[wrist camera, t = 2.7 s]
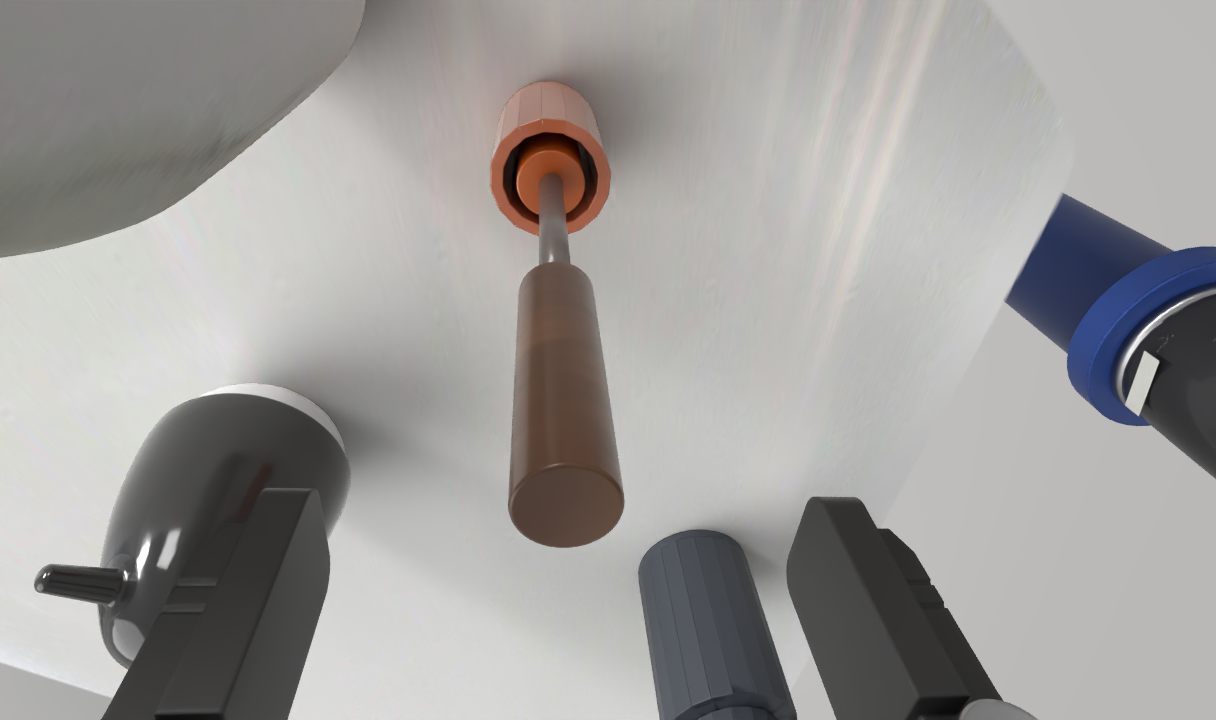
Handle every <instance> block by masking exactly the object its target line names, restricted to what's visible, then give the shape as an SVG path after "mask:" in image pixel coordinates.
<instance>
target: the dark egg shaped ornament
mask: <svg viewBox="0 0 1216 720" xmlns="http://www.w3.org/2000/svg"><path fill="white" fill-rule="evenodd" d="M350 484H351V474H350V467H349V463H348V460H347V457H346V452H345V448H344V444H343V441H342V438H341V436H340V433H339V431H338V430H337V428H336V426H335V424H334V423H333V422H332V420H331V419H330V418H329V416H328V415H327V414H326V413H325V412H324V411H323V410H322V409H321V408H320V407H318V406H317V405H316V404H315V403H313V402H312V401H311V400H309V399H307V398H306V397H304V396H302V395H300V394H298V393H296V392H294V391H291V390H289V389H286V388H283V387H279V386H274V385H269V384H260V383H243V384H235V385H229V386H225V387H221V388H218V389H215V390H212V391H210V392H207V393H205V394H203V395H201V396H199V397H197V398H195V399H192V400H189V401H187V402H184V403H182V404H180V405H178V406H177V407H175V408H173V409H172V410H170V411H169V412H168V413H167V414H166V415H164V416H163V417H162V418H161V419H160V420H159V422H158V423H157V424H156V425H155V426H154V428H153V429H152V430H151V432H150V433H149V435H148V436H147V438H146V439H145V441H144V442H143V444H142V446H141V448H140V449H139V451H138V453H137V455H136V457H135V459H134V461H133V463H132V465H131V467H130V469H129V471H128V473H127V475H126V477H125V480H124V482H123V484H122V487H121V489H120V491H119V494H118V496H117V499H116V502H115V505H114V508H113V511H112V514H111V517H110V521H109V525H108V528H107V532H106V537H105V541H104V546H103V551H102V557H101V563H100V567H87V566H74V565H61V564H49V565H47V566H45V567H43V568H42V569H41V570H40V571H39V573H38V574H37V576H36V578H35V581H34V588H35V590H36V591H37V592H39V593H44V594H49V595H54V596H59V597H65V598H70V599H75V600H80V601H86V602H91V603H96V604H97V611H98V620H99V626H100V631H101V635H102V639H103V642H104V644H105V646H106V648H107V650H108V652H109V653H110V654H111V656H112V657H113V658H114V659H115V660H116V661H117V662H118V663H119V664H120V665H122V666H123V667H125V668H126V669H128V670H129V668H130V666H131V664H132V663H133V661H134V659H135V657H136V655H137V653H138V651H139V650H140V648H141V646H142V644H143V642H144V640H145V639H146V637H147V635H148V633H149V631H150V629H151V627H152V626H153V624H154V622H155V620H156V618H157V616H158V615H159V613H162V611H163V605H164V603H165V602H166V600H167V598H168V596H169V594H170V592H171V590H172V589H173V587H176V585H177V579H178V578H179V576H180V574H181V572H182V570H183V568H184V566H185V565H186V563H187V561H188V559H189V557H190V555H191V554H192V552H193V550H194V549H195V548H196V547H197V546H198V545H199V544H200V543H201V542H202V541H203V540H204V539H206V538H207V537H208V536H209V535H210V534H211V533H212V532H213V531H214V530H215V529H216V528H218V527H219V526H220V525H221V524H222V523H223V522H233V523H245V522H246V520H247V518H248V516H249V514H250V512H251V510H252V508H253V506H254V504H255V502H256V499H257V497H258V496H259V494H260V492H261V491H262V490H263V489H265V488H303V489H317V490H318V492H319V495H320V500H321V506H322V512H323V518H324V524H325V530H326V536H327V540H328V539H329V537H330V535H331V533H332V531H333V529H334V528H335V526H336V524H337V522H338V520H339V518H340V516H341V513H342V511H343V509H344V506H345V503H346V500H347V497H348V494H349V490H350Z"/></svg>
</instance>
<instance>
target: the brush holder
mask: <svg viewBox="0 0 1216 720" xmlns="http://www.w3.org/2000/svg"><path fill="white" fill-rule="evenodd" d="M542 132H549V133H562V134H565V135H567V136H569V137H571V138H573V139H575V140H576V141H578V144H579V150H580V155H581V161H582V166H583V172H584V178H585V190H584V194H583V197H582V199H581V201H580V202H579V204H578V205H577V206H576V207H575V208H574V209H573V210H571V211H570V212H568V213H566V224H567V234H570V233H573V232H576V231H579V230H581V229H582V228H584V227H585V226H586V225H587V224H589V223H590V222H591V221H592V220H593V219H595V218H596V217H597V215H599V213H600V211H601V209H602V207H603V205H604V204H605V202H606V200H607V198H608V195H609V188H610V179H611V171H610V168H609V164H608V161H607V157H606V154H605V150H604V147H603V143H602V140H601V136H600V133H599V129H598V126H597V123H596V119H595V116H594V113H593V111H592V109H591V107H590V105H589V104H588V103H587V101H586V100H585V99H584V98H583V97H582V96H581V95H580V94H579V93H578V92H577V91H575V90H574V89H572V88H571V87H569V86H566V85H564V84H561V83H557V82H551V81H543V82H537V83H533V84H530V85H527V86H525V87H523V88H522V89H520V90H519V91H517V92H516V93H515V94H514V95H513V96H512V97H511V98H510V99H509V101H508V102H507V103H506V105H505V107H504V109H503V111H502V114H501V117H500V119H499V123H498V128H497V133H496V138H495V144H494V149H493V154H492V159H491V165H490V187H491V191H492V194H493V196H494V199H495V201H496V203H497V206H498V208H499V209H500V211H501V212H502V213H503V214H504V215H505V216H506V217H507V218H508V219H509V220H510V221H511V222H512V223H513V224H514V225H516V227H518V228H521V229H523V230H525V231H527V232H529V233H532V234H534V235H537V236H539V215H538V214H536V213H534V212H532V211H531V210H530V209H528V208H527V207H526V206H525V205H524V203H523V202H522V201H521V199H520V197H519V195H518V191H517V186H516V180H517V168H518V155H519V143H521V142H522V141H523V140H524V139H525V138H527V137H530V136H533V135H536V134H539V133H542Z"/></svg>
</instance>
